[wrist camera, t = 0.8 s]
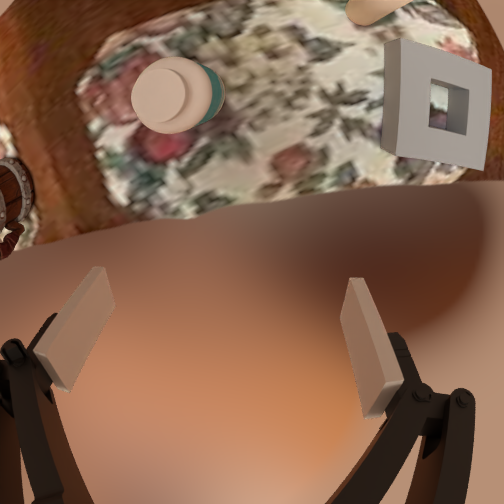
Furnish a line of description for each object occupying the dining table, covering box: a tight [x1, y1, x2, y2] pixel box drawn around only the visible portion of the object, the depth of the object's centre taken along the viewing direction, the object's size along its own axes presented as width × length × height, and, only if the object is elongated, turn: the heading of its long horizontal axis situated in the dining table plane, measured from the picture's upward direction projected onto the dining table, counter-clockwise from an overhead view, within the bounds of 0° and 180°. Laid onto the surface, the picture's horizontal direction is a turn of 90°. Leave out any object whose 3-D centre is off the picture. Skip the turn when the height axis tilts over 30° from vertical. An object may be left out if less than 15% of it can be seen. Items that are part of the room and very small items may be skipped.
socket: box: [380, 38, 492, 171], centre depth 28 cm, size 14×14×5 cm
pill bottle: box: [131, 57, 225, 134], centre depth 26 cm, size 8×7×14 cm
